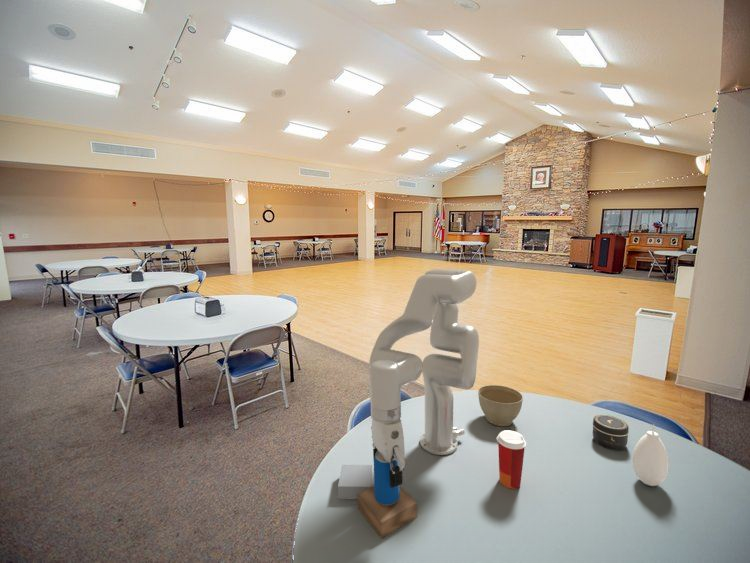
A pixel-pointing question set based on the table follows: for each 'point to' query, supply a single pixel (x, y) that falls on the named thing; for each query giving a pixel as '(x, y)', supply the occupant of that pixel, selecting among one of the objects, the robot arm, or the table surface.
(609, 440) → the jar
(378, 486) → the beverage can
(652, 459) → the white egg shaped candle
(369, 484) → the grey square block
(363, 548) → the table surface
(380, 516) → the walnut block
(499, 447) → the paper cup
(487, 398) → the planter bowl
